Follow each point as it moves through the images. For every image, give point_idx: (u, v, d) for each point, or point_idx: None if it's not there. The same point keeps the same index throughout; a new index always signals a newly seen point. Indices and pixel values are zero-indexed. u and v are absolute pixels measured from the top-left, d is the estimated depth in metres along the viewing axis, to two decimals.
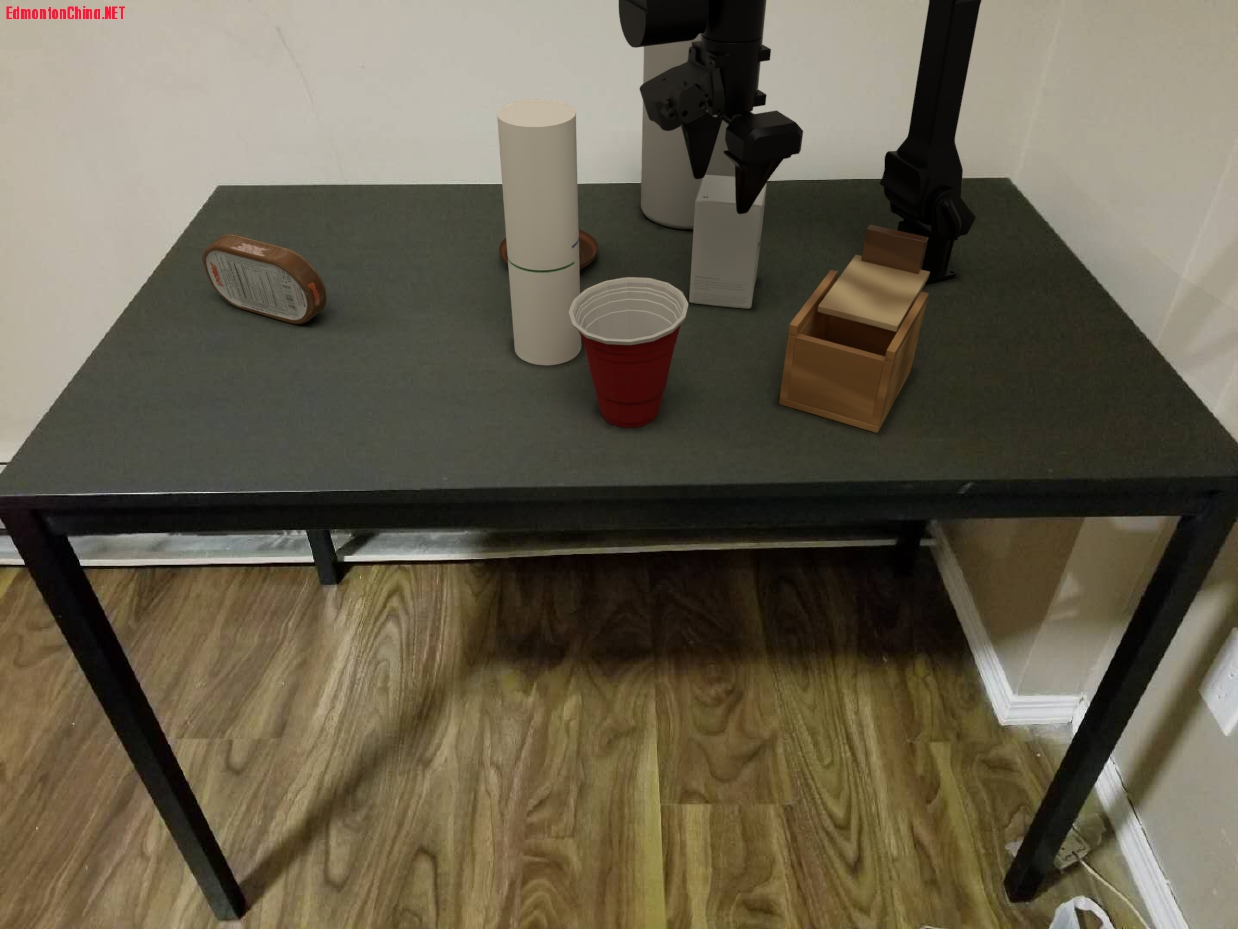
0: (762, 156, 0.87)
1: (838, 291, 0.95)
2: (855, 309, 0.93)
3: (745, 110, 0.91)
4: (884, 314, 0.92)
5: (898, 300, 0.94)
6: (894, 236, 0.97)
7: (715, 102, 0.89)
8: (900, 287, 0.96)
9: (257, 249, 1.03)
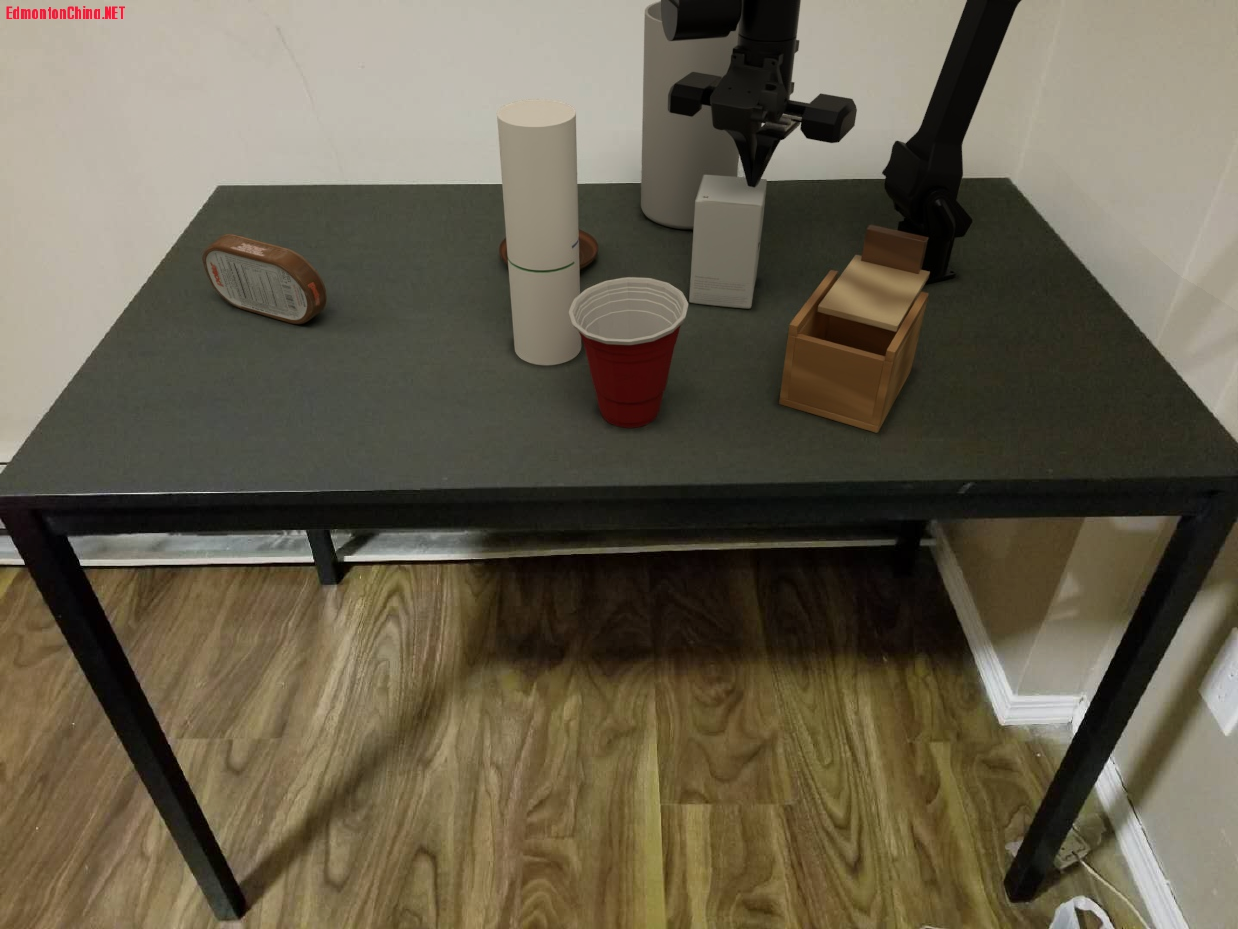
0: (843, 134, 0.96)
1: (838, 291, 0.95)
2: (855, 309, 0.93)
3: (790, 100, 0.98)
4: (884, 314, 0.92)
5: (898, 300, 0.94)
6: (894, 236, 0.97)
7: None
8: (900, 287, 0.96)
9: (257, 249, 1.03)
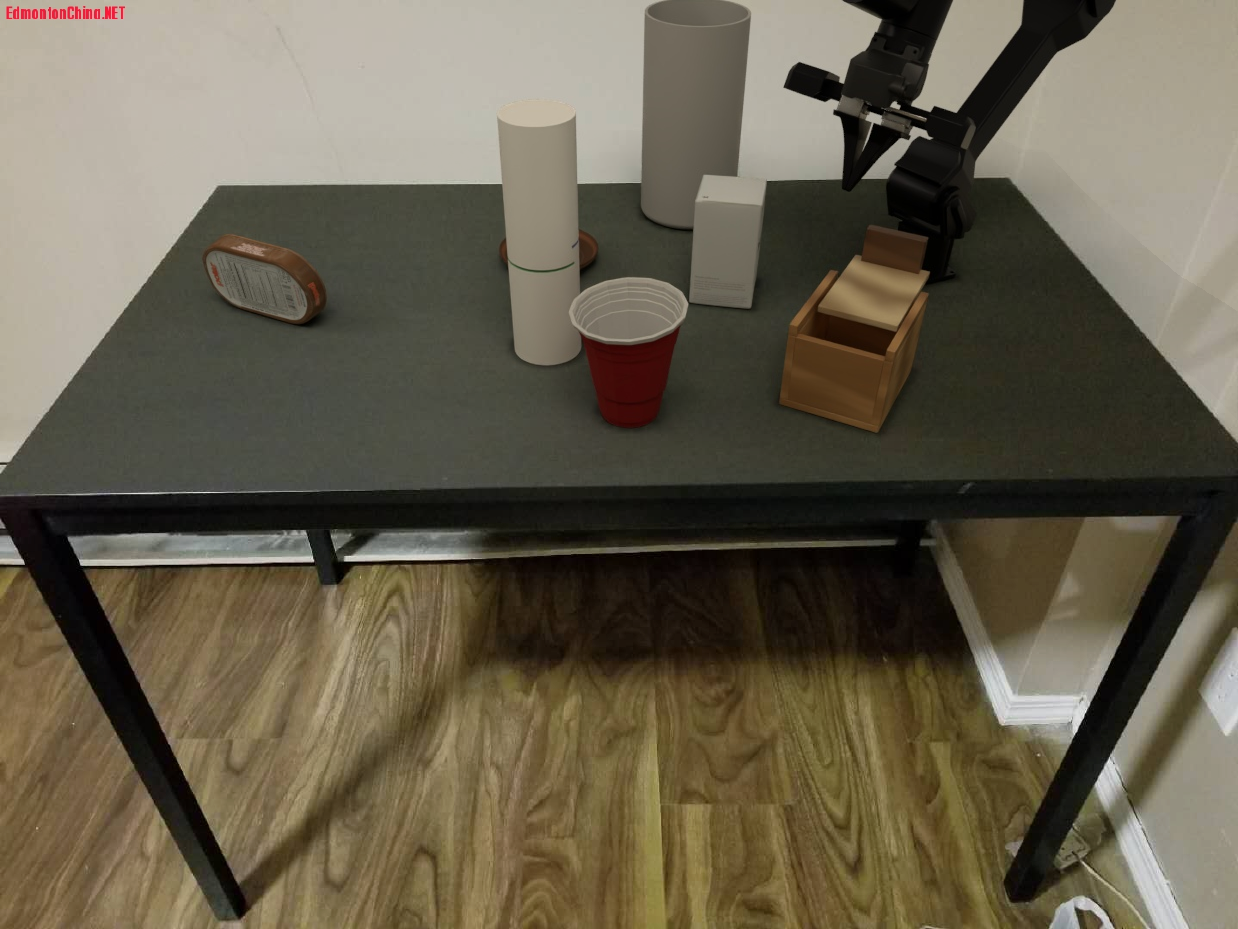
0: (963, 144, 0.93)
1: (838, 291, 0.95)
2: (855, 309, 0.93)
3: None
4: (884, 314, 0.92)
5: (898, 300, 0.94)
6: (894, 236, 0.97)
7: None
8: (900, 287, 0.96)
9: (257, 249, 1.03)
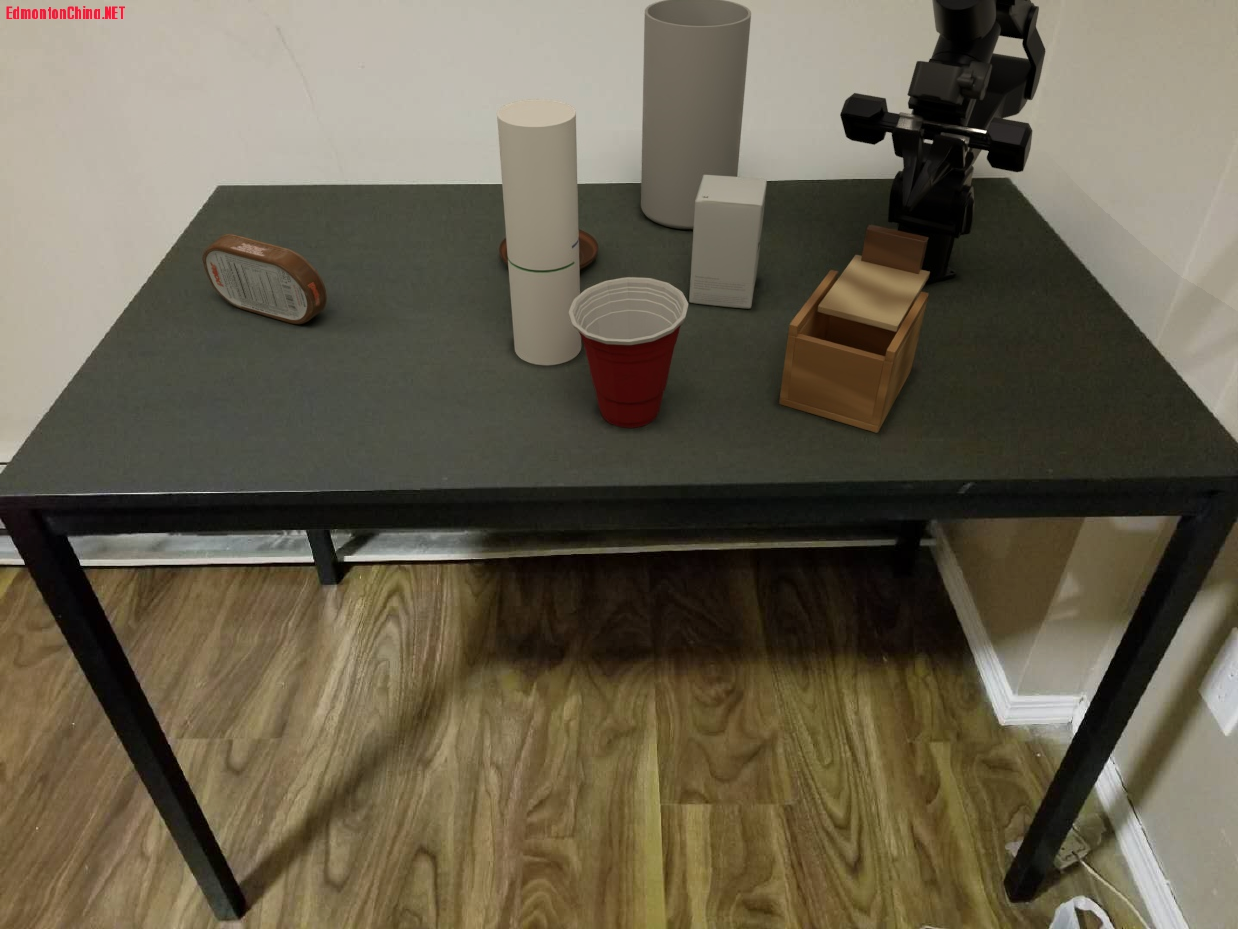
0: (1026, 150, 0.95)
1: (838, 291, 0.95)
2: (855, 309, 0.93)
3: None
4: (884, 314, 0.92)
5: (898, 300, 0.94)
6: (894, 236, 0.97)
7: (969, 103, 0.96)
8: (900, 287, 0.96)
9: (257, 249, 1.03)
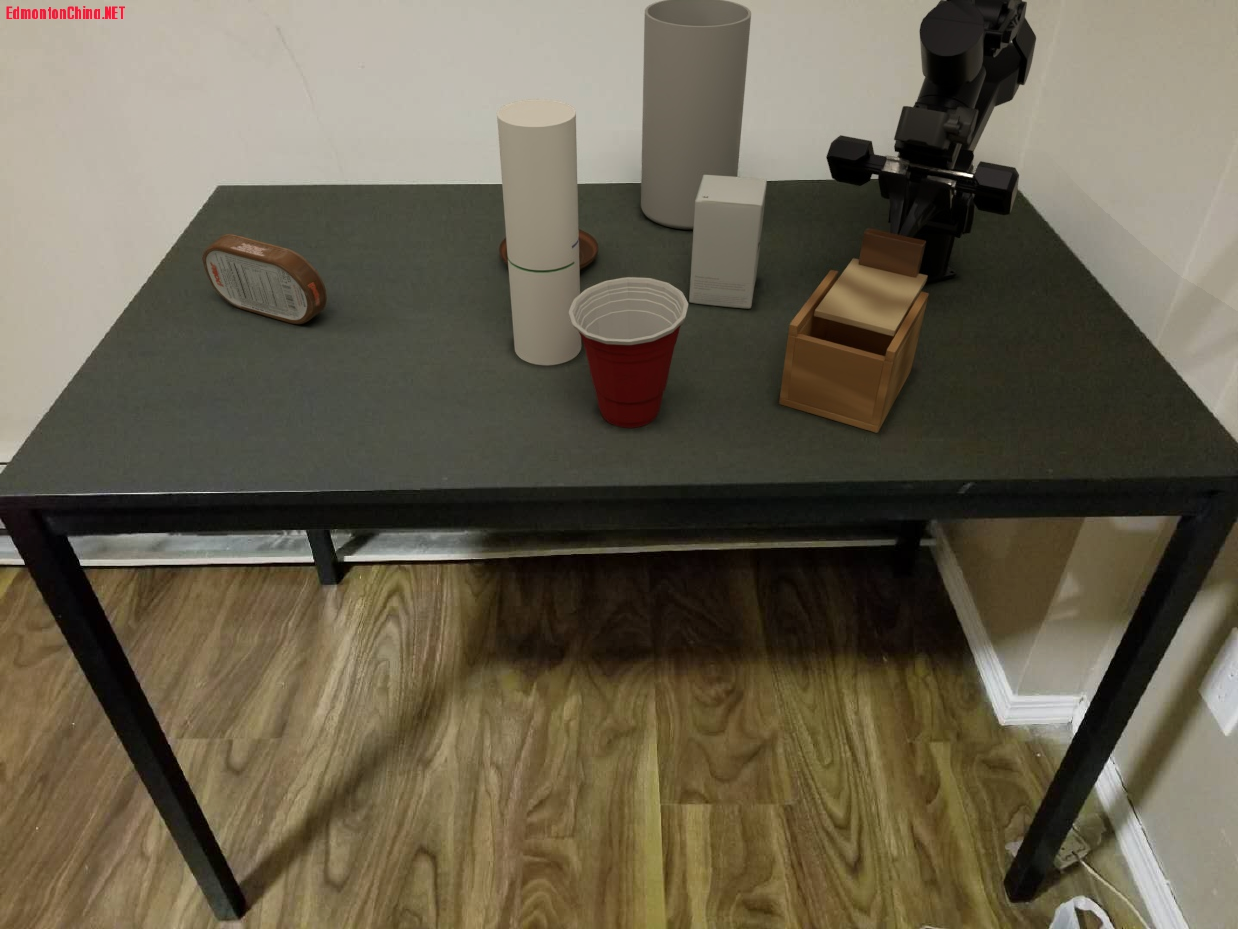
0: (1012, 195, 0.94)
1: (835, 295, 0.95)
2: (852, 313, 0.92)
3: None
4: (882, 319, 0.91)
5: (896, 304, 0.93)
6: (892, 239, 0.96)
7: (956, 147, 0.95)
8: (897, 291, 0.95)
9: (257, 249, 1.03)
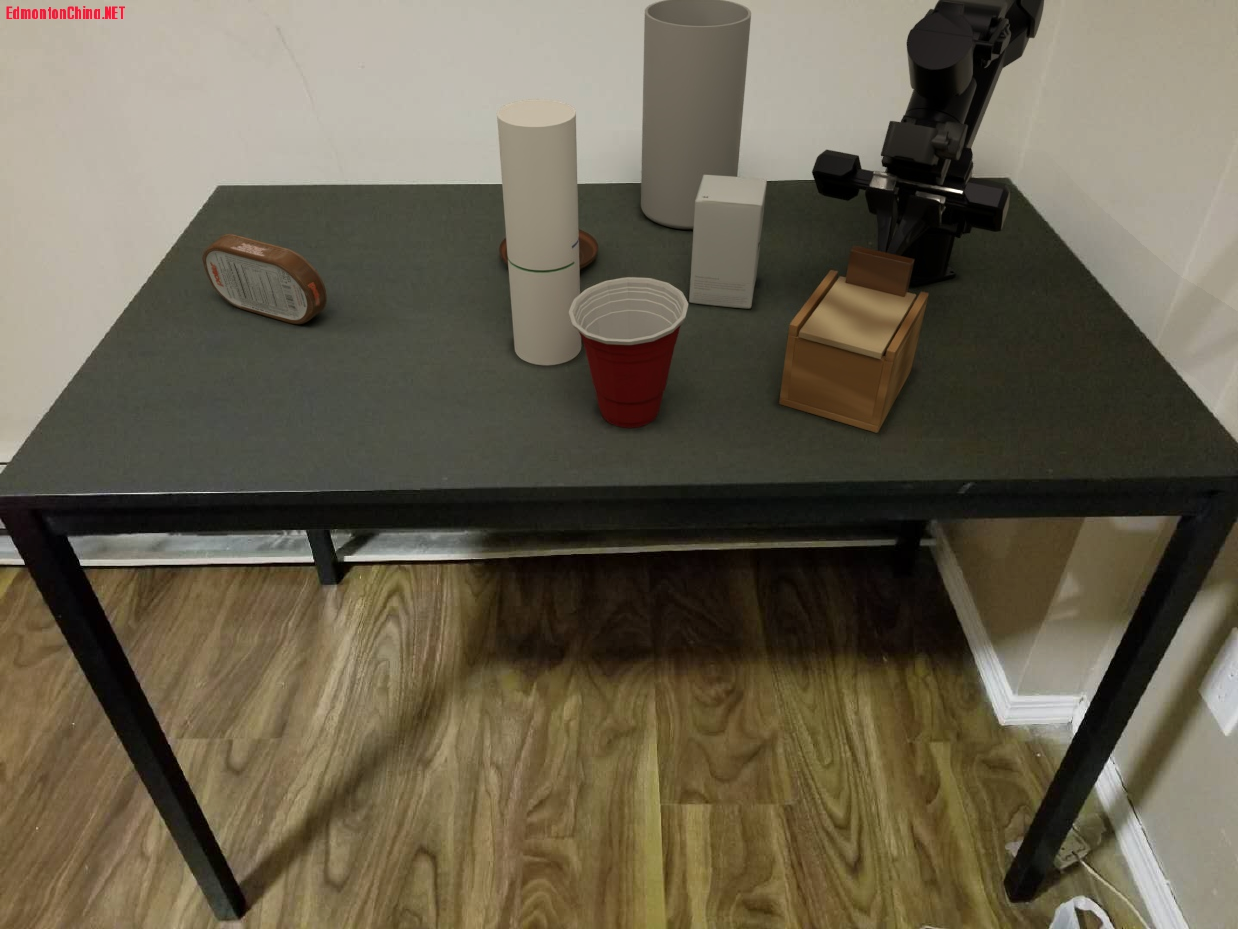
0: (1003, 212, 0.91)
1: (820, 315, 0.92)
2: (838, 335, 0.89)
3: None
4: (868, 341, 0.88)
5: (883, 325, 0.90)
6: (879, 257, 0.93)
7: (945, 162, 0.92)
8: (885, 311, 0.92)
9: (257, 249, 1.03)
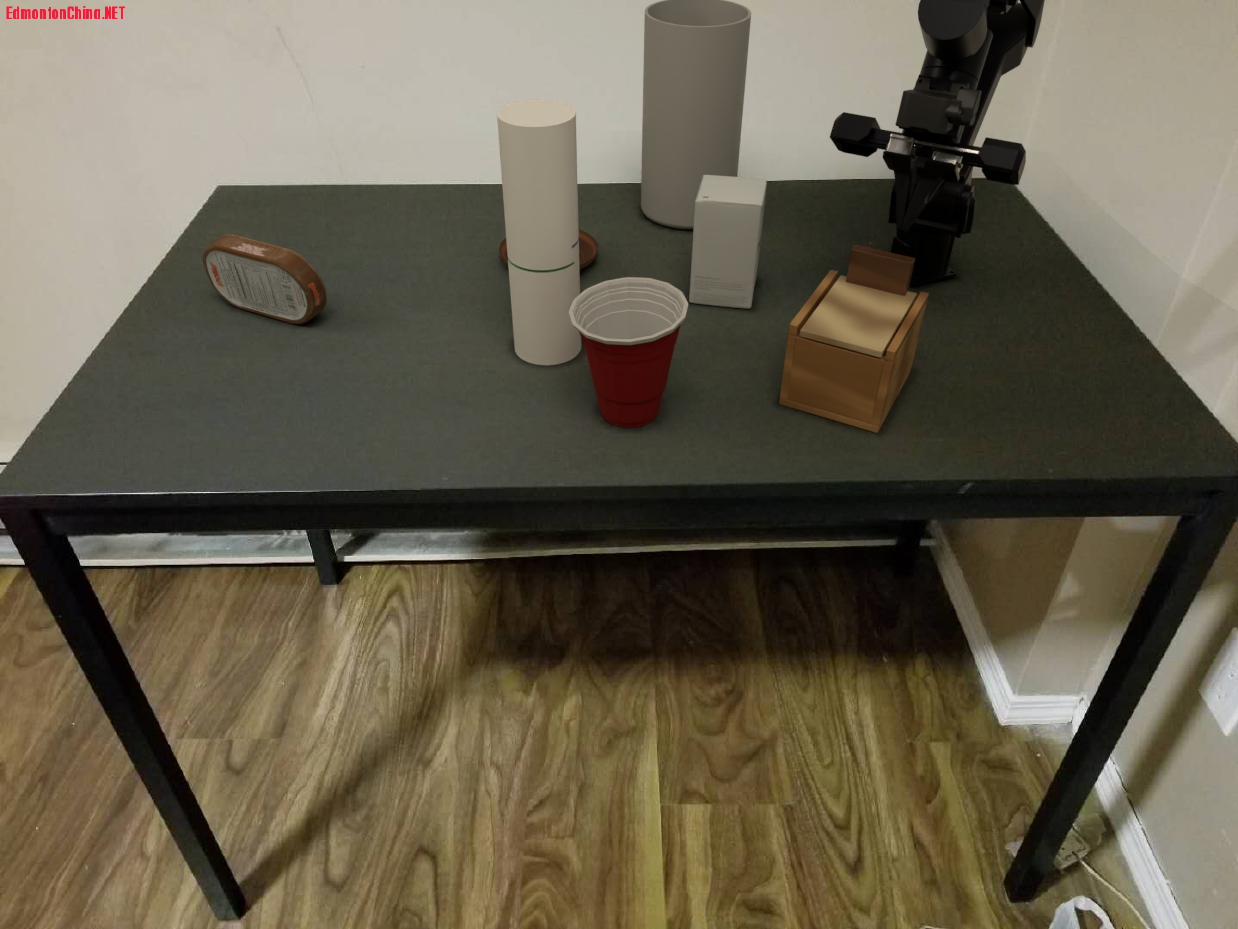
0: (1019, 171, 0.93)
1: (821, 314, 0.92)
2: (839, 334, 0.89)
3: None
4: (869, 339, 0.88)
5: (883, 324, 0.91)
6: (880, 256, 0.94)
7: None
8: (886, 310, 0.93)
9: (257, 249, 1.03)
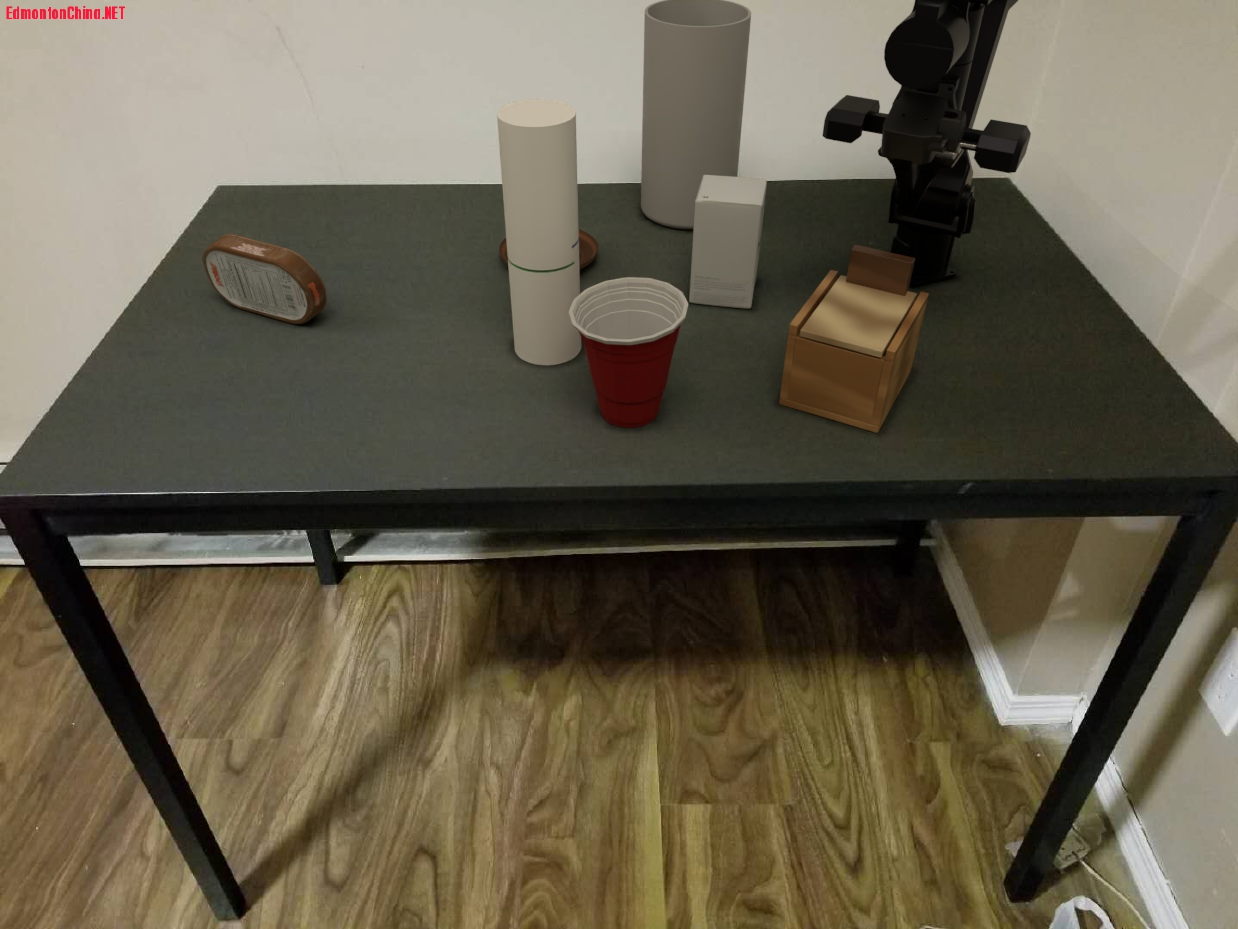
0: (1019, 163, 0.90)
1: (821, 314, 0.92)
2: (839, 334, 0.89)
3: None
4: (869, 339, 0.88)
5: (883, 324, 0.91)
6: (880, 256, 0.94)
7: None
8: (886, 310, 0.93)
9: (257, 249, 1.03)
